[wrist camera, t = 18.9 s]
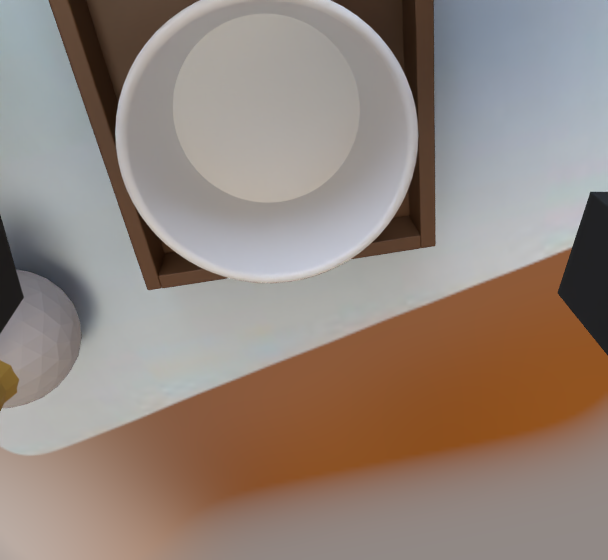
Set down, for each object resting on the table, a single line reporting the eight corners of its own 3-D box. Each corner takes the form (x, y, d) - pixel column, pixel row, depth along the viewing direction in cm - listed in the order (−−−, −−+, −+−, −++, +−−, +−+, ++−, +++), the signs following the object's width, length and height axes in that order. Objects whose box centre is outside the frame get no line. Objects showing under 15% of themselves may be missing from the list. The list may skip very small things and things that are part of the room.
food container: (237, -90, 23) (231, -101, 18) (436, 91, 28) (481, 128, 22) (98, 136, 28) (58, 185, 22) (288, 260, 32) (296, 327, 26)
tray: (414, -103, 24) (433, -107, 21) (421, 221, 32) (435, 246, 30) (56, -46, 24) (32, -43, 21) (155, 262, 32) (147, 291, 30)
